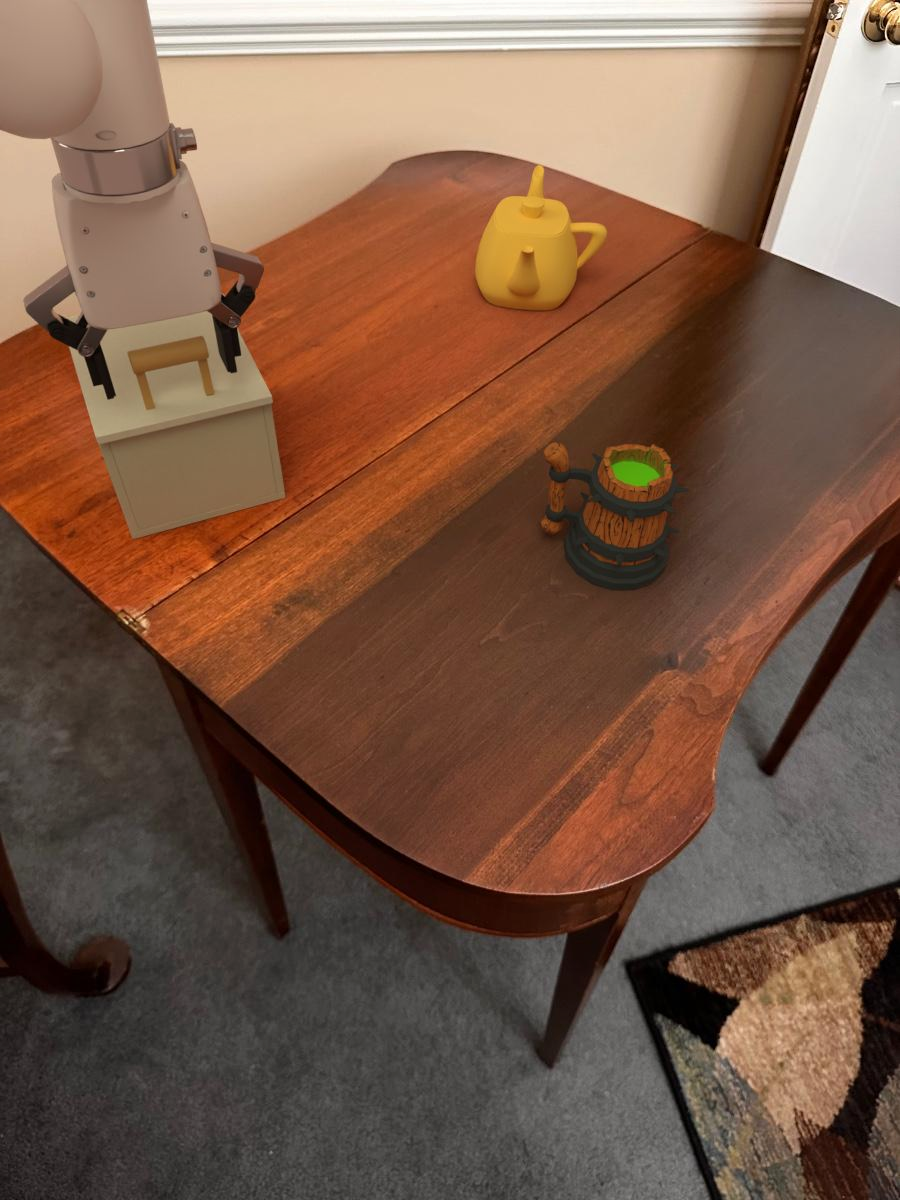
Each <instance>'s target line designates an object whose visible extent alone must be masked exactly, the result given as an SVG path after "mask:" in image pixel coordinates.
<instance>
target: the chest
mask: <svg viewBox="0 0 900 1200" xmlns="http://www.w3.org/2000/svg"><path fill="white" fill-rule="evenodd" d="M274 419H275V418H274V413H273V407H272V403H271V404H266V405H262V406H258V407H254V408H250V409H246V410H241V411H237V412H233V413H229V414H225V415H220V416H216V417H212V418H208V419H204V420H200V421H195V422H191V423H187V424H183V425H179V426H174V427H170V428H166V429H162V430H158V431H154V432H149V433H145V434H141V435H137V436H133V437H128V438H124V439H120V440H116V441H112V442H108V443H103V444H98V447H99V450H100V453H101V455H102V458H103V461H104V464H105V466H106V469H107V472H108V475H109V478H110V480H111V483H112V486H113V489H114V492H115V494H116V497H117V500H118V503H119V506H120V508H121V511H122V514H123V517H124V519H125V522H126V525H127V528H128V531H129V534H130V536H131V538H132V540H136V539H140V538H143V537H147V536H151V535H154V534H158V533H162V532H165V531H168V530H174V529H177V528H180V527H183V526H187V525H190V524H195V523H198V522H203V521H205V520H210V519H213V518H216V517H220V516H224V515H227V514H231V513H234V512H239V511H242V510H246V509H250V508H253V507H257V506H261V505H264V504H268V503H272V502H276V501H279V500H283V499H286V498H287V497H286V496H287V495H286V489H285V484H284V478H283V470H282V464H281V457H280V452H279V445H278V439H277V432H276V425H275V420H274Z"/></svg>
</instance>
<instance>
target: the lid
mask: <svg viewBox="0 0 900 1200" xmlns="http://www.w3.org/2000/svg"><path fill="white" fill-rule="evenodd" d="M79 315H80V314H79V313H78V314H74V315H69V316H64V317H65V318H67V319H68V320H70V321H72V322H74V323H75V322H76V321H77V319H78V317H79ZM237 330H238V337H239V343H240V349H241V356H238V357H235V361H236V367H237V372H236V373H230V372H228V371H227V369H226V367H225V365H224V363H223V361H222V359H221V357H220V354H219V350H218V345H217V339H216V334H215V328H214V323H213V318H212V314H211V313H209V312H208V311H204V312H201V313H197V314H192V315H187V316H182V317H177V318H172V319H167V320H161V321H156V322H151V323H145V324H140V325H135V326H129V327H124V328H117V329H108V330H107V332H106V333H105V335H104V337H103V339H102V340H101V342H100V345H101V348H102V351H103V354H104V357H105V360H106V363H107V367H108V370H109V373H110V377H111V380H112V383H113V387H114V390H115V393H116V396H115V397H114V399H109V400H108V399H107V396H106V393H105V390H104V387H103V385H98V386H93V383H92V380H91V377H90V374H89V371H88V367H87V364H86V361H85V358H84V357H83V356H81V355H80V354H79V353H78V350H76V349H74V348H72V347H70V346H68V349H69V352H70V355H71V358H72V363H73V366H74V369H75V372H76V376H77V378H78V382H79V385H80V389H81V392H82V396H83V399H84V402H85V406H86V410H87V413H88V416H89V420H90V423H91V426H92V430H93V433H94V437H95V439H96V443H97V445H99V444H103V443H108V442H112V441H116V440H120V439H124V438H128V437H133V436H137V435H141V434H145V433H149V432H154V431H158V430H162V429H166V428H170V427H174V426H179V425H183V424H187V423H191V422H195V421H200V420H204V419H208V418H212V417H216V416H220V415H225V414H229V413H233V412H237V411H241V410H246V409H250V408H254V407H258V406H262V405H266V404H271V405H272V404H273V403H274V399H273V395H272V393H271V391H270V389H269V387H268V385H267V383H266V380H265V379H264V377H263V375H262V373H261V371H260V369H259V367H258V365H257V364H256V361H255V359H254V358H253V356H252V353H251V352H250V350H249V348H248V346H247V344H246V342H245V339H244V338H243V336H242V334H241V332H240V330H239V328H238V327H237Z"/></svg>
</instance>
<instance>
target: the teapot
mask: <svg viewBox="0 0 900 1200" xmlns="http://www.w3.org/2000/svg"><path fill="white" fill-rule="evenodd" d="M531 175H532V176H531V181H530V184H529V189H528V192H527V195H526V196H523V195H514V196H513V195H512V196H511V195H510V196H507V197H504V198H502V199H501V200H500V201H499V202H498V204H497V206H496V207H495V209H494V210H493V213H492V215H491V217H490V218H489V220H488V223H487V225H486V227H485V229H484V231H483V233H482V236H481V237H480V242H479V244H478V249H477V253H476V258H475V268H474V273H475V274H474V275H475V279H476V284H477V286H478V288H479V290H480V292H481V295H482V297H483V298H484V299H485V300H486V302H488V303H489V304H491V305H494V306H497V307H501V308H507V309H515V310H523V311H552V310H555V309H557V308H559V306H560V305H562V304H563V303H564V302H565V300H566V299H567V298H568V297H569V295H570V293H571V292H572V290H573V289H574V286H575V283H576V280H577V275H578V270H579V269H580V268H581V267H583V265H584V264H586V263H587V262H588V261H589V260H590V259H592V257H593V256H595V254H597V252H598V251H599V250H600V249H601V248H602V246H604V243H605V241H606V240H607V236H608V230H607V228H606V226H604V225H603V224H602V223H597V222H588V221H587V222H584V221H583V222H572V219H571V216H570V214H569V211H568V207H567V206H566V205H565V204H564V203H563V202H561V201H560V200H557V199H553V198H545V196H544V195H545V194H544V179H545V168H544V166H543V165H541V164H538V165H535V167H534V169H533V171H532V174H531ZM575 234H588V235H590V239H589V242H588V244H587V246H586V247H585V249H584V250H583V251H582V252H581V253H580V255H578V246H577V245H578V244H577V240H576V235H575Z"/></svg>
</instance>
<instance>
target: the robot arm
mask: <svg viewBox="0 0 900 1200" xmlns="http://www.w3.org/2000/svg"><path fill="white" fill-rule="evenodd" d="M167 106H168V105H167V101H166V96H165V90H164V83H163V79H162V74H161V69H160V63H159V57H158V52H157V46H156V41H155V36H154V31H153V26H152V20H151V16H150V9H149V4H148V0H0V131H2V132H5V133H7V134H10V135H13V136H17V137H20V138H22V139H23V138H25V139H29V140H31V139H32V140H47V139H50V141H51V144H52V148H53V151H54V155H55V158H56V162H57V165H58V168H59V172H58V173H56V174H55V175H54V176H53V177H52V179H51V193H52V202H53V208H54V216H55V221H56V226H57V231H58V235H59V238H60V239H59V240H60V243H61V247H62V251H63V256H64V259H65V263H66V265H65V266H64V267H63V268H61V269H60V270H59V271H58V272H55V274H54V275H52V276H51V277H49V278H48V279H47V280H45V281H44V282H43V283H41V284H40V285H38V286H37V287H36V288H35V289H33V290H32V291H31V292H29V293H28V294H26V295H25V296H24V297H23V300H22V301H23V305H24V309H25V312H26V314H27V315H28V316H29V317H31V319H33V320H34V321H35V322H36V323H37V324H38V325H39V326H40V327H41V328H42V329H44V330H45V331H47V332H48V334H49V336H50V337H51V338H52V339H54V340H56V341H58V342H60V343H61V344H64V345H66V346H68V347H69V346H70V347H72V348H74V349H76V350H78V353H79V354H80V355H81V356H83V357H84V358H85V361H86V364H87V367H88V371H89V374H90V377H91V380H92V383H93V386H98V385H103V387H104V390H105V393H106V396H107V399H108V400H109V399H114V397H115V396H116V393H115V390H114V387H113V383H112V380H111V377H110V373H109V370H108V367H107V363H106V360H105V357H104V354H103V351H102V348H101V345H100V342H101V340H102V339H103V337H104V335H105V333H106V332H107V330H108V329H117V328H124V327H129V326H135V325H140V324H145V323H151V322H156V321H161V320H167V319H172V318H177V317H182V316H187V315H192V314H197V313H201V312H204V311H208V312H209V313H211V314H212V318H213V323H214V328H215V334H216V339H217V345H218V350H219V354H220V357H221V359H222V361H223V363H224V365H225V367H226V369H227V371H228V372H230V373H236V372H237V367H236V361H235V357H238V356H241V349H240V343H239V337H238V330H239V329H238V330H237V328H238V327H239V326H240V325H241V324H242V316H243V315H244V314H245V313H246V311H247V310H248V309H249V307H250V306H251V305H252V304H253V303H254V301H255V299H256V291H257V289H258V288H259V285H260V282H261V281H262V277H263V274H264V271H265V267H264V265H263V263H262V261H261V260H260V258H259V257H258V256H256V255H253V254H249V253H246V252H243V251H240V250H237V249H234V248H231V247H227V246H224V245H221V244H217V243H214V242H212V240H211V237H210V233H209V228H208V224H207V221H206V218H205V215H204V212H203V209H202V205H201V202H200V198H199V195H198V192H197V190H196V186H195V184H194V181H193V178H192V175H191V173H190V170H189V168H188V166H187V164H186V163H185V162H184V161H183V157H182V155H185V154H187V153H188V152H191V151H197V150H198V144H197V138H196V135H195V132H194V129H193V128H192V127H189V128H181V126H179V127H176V126H175V125H174V123H173V122H170V117H169V112H168V107H167ZM218 268H219V269H222V270H226V271H230V272H233V273H237V274H239V275H238V279H237V280H236V282H235V283H234V284H233V285H232V287H231V288H230V289H229V290H228V292H227V294H225V293H223V292H222V286H221V280H220V275H219V270H218ZM73 293H74V294H75V296H76V299H77V301H78V304H79V306H80V309H81V311H80V315H79V317H78V319H77V321H76V322H75V323H74V322H72V321H70V320H68V319H67V318H65V317H66V316H63V315H61V314H59V313H57V312H56V311H55V309H54V308H55V307H56V306H57V305H58V304H60V303H61V302H63V301H64V300H65V299H67V298H68V297H70V296H71V295H72V294H73Z"/></svg>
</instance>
